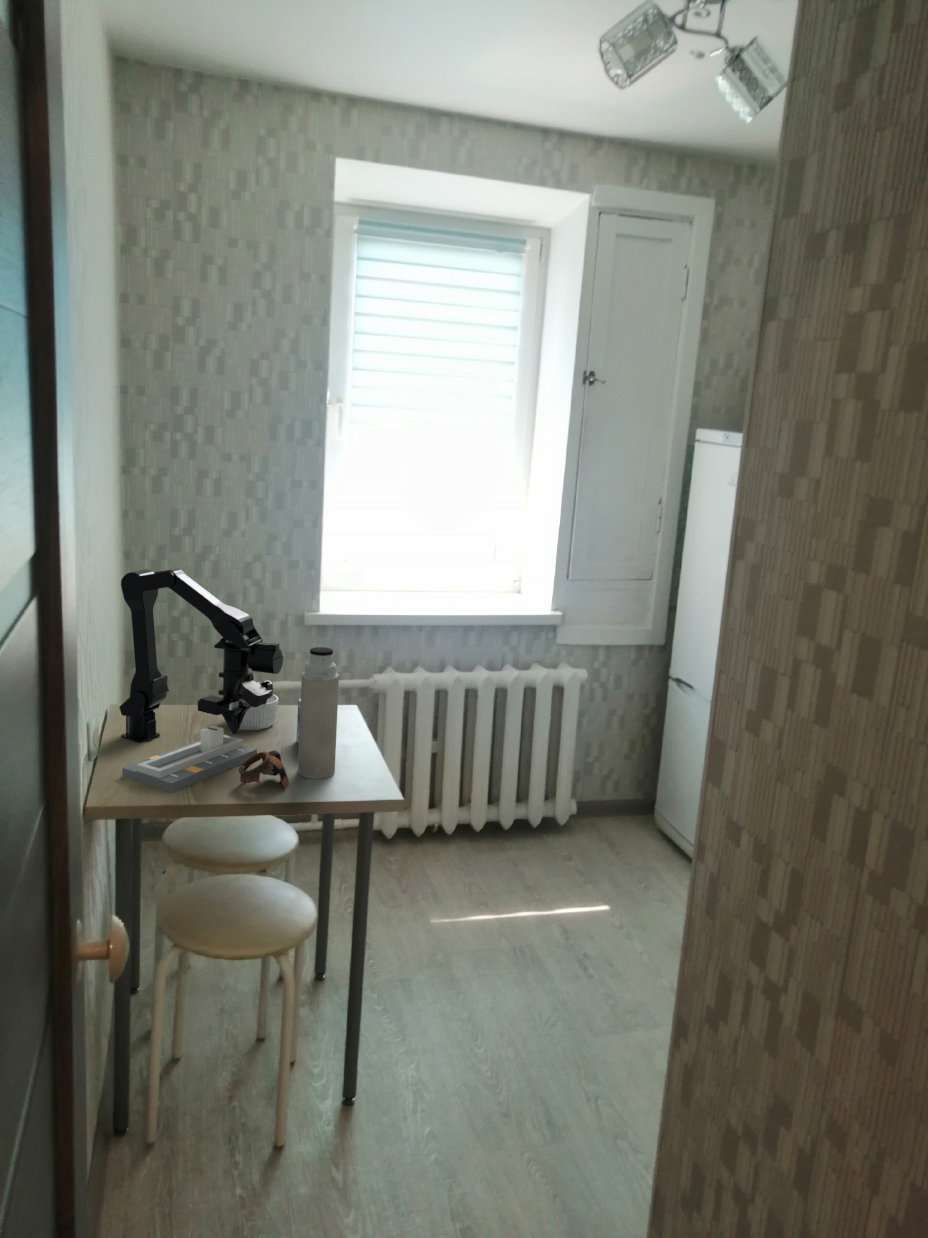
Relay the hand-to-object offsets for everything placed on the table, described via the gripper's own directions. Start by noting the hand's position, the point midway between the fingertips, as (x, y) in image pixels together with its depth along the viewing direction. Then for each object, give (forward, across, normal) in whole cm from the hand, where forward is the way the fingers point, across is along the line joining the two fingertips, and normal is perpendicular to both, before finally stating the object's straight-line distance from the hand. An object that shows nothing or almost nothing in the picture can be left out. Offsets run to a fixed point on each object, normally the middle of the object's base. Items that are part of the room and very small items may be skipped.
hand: (234, 734), depth 211 cm
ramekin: (+4, +18, +10) cm, 21 cm away
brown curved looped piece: (+4, -11, -19) cm, 22 cm away
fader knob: (+2, -7, 0) cm, 8 cm away
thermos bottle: (+4, 0, -23) cm, 23 cm away
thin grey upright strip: (+4, +14, -13) cm, 19 cm away
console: (+4, -13, 0) cm, 14 cm away
